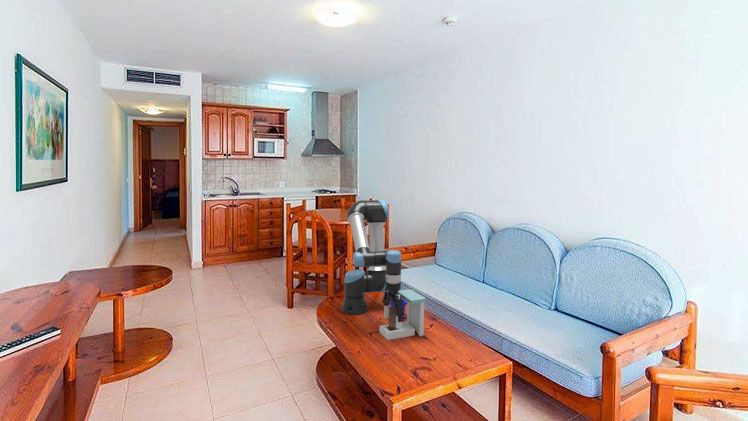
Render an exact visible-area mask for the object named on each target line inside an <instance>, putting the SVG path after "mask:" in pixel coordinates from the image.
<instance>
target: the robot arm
mask: <svg viewBox="0 0 748 421" xmlns="http://www.w3.org/2000/svg"><path fill="white" fill-rule="evenodd" d="M346 217H347V222H348V224H349V225H350V229H351V234H352V240H353V244H354V249H355V252H353V254H352V263H353V267H355V268H364V267H365V268H367V267H368V268H367V271H365V269H364V270H363V269H352V270H349V271H347V272H346V273H345V275H344V279H343V280H344V281H343V282H344V298H343V300H342V305H341V311H342V312H341V313H344V314H347V315H361V314H364V313H366V312H368V304H367V301H366V298H365V293H382V292H384V295H383V297H382V304H383V307H384V309H383V310H384V313H383V316H384V317H383V318H384V319H389V307H391V300H392V302H393V303H394V306H395V309H396V313H397V315H396V329H397V328H402V322H403V321H402V320H403V318H402V316H403V315H404V310H403V304H402V299H403V298H402V296H401V295H398V291H401V289H402V283H401V282H402V252H401V251H399V250H394V249H393V250H390V249H385V235H384V234H385V231H384V228H385V225H386V224H387V221H388V220H389V219H390V210H389V206H388V203H387V202H386V201H385V200H381V199H380V200H378V199H374V200H373V199H371V200H364V199H363V200H357V201H356V202H354V203H353V204H351V206H350V207H349V208H348V211H347V216H346ZM365 221H366V224H367V225H368V227H369V232H368V233H369V234H368V235H369V239H368V235H367V231H366V226H365ZM404 316H405V315H404Z"/></svg>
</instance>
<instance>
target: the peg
mask: <svg viewBox="0 0 748 421" xmlns="http://www.w3.org/2000/svg"><path fill="white" fill-rule="evenodd" d="M396 315H397V313H396V309H395V307H391V306H390V307H389V318H388V324H389V330H390V331H392V330H396Z"/></svg>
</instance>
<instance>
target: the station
mask: <svg viewBox="0 0 748 421" xmlns="http://www.w3.org/2000/svg"><path fill="white" fill-rule="evenodd" d="M398 295H401V296H402V299H404V300H405V302H407V304H406V306H407V307H406V308H407V309H406V310H407V311H406V312H407V316H406V321H402V328H397V329H396V330H392V331H390V330H389V323H388V324H382V325H379V334H380V335H382V337H384V338H385V339H386V340H387V341H392V340H395V339H396V340H397V339H402V338H407V337H412V336H413V337H414V336H415V335H416V334H415V332H416V333H417V335H418V336H419V337H423V336H424V332H425V331H424V330H425V328H424V327H425V302H427V298H426V297H425V296H424V295H422V294H419V293H418V292H416V291H415V290H413V289H412V288H411V289H410V288H409V289H402V290H401V289H400V290H399V291H398Z"/></svg>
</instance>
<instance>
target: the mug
mask: <svg viewBox="0 0 748 421" xmlns="http://www.w3.org/2000/svg"><path fill="white" fill-rule="evenodd" d="M402 304H403V310H404V315H403V316H402V319H403V318H404V316H405V317H407V314H406V312H405V311H406V306H407V301H406V300H405V299H403V298H402ZM390 307H395V306H394V303H393V302H392V300H391V302H390Z"/></svg>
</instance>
